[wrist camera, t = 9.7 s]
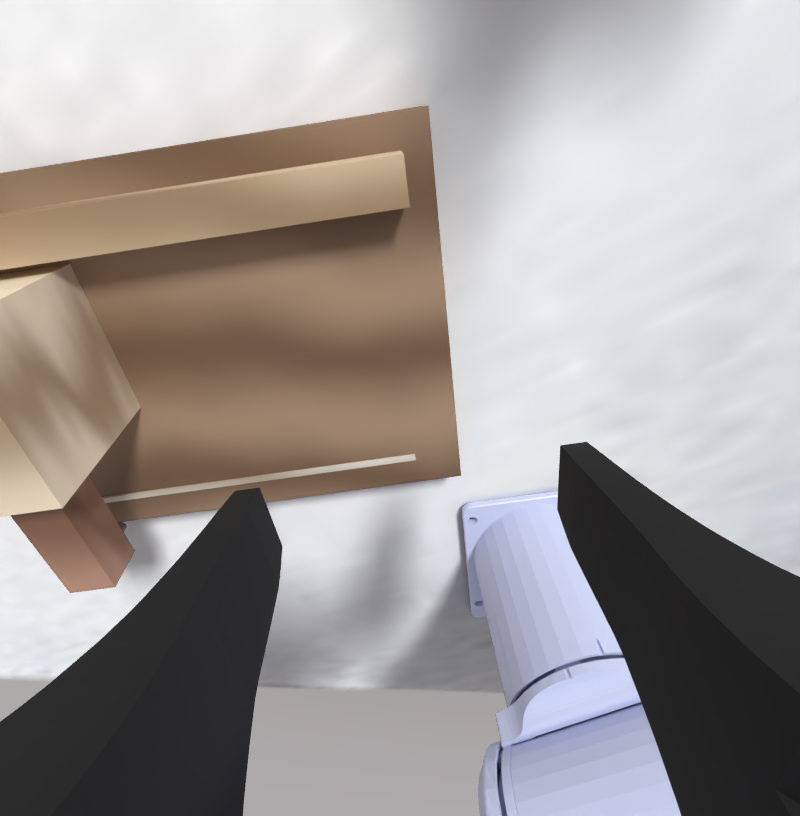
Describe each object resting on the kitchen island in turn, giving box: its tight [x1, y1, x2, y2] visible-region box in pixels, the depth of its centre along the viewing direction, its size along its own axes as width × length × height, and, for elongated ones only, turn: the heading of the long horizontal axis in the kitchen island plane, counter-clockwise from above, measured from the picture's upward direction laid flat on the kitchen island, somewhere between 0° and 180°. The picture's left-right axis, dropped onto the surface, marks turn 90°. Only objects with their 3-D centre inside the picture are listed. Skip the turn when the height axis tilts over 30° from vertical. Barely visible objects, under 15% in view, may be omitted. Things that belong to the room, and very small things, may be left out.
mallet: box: [0, 264, 141, 593], centre depth 17 cm, size 11×4×6 cm, turn 8°
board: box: [0, 106, 461, 522], centre depth 19 cm, size 15×20×3 cm
